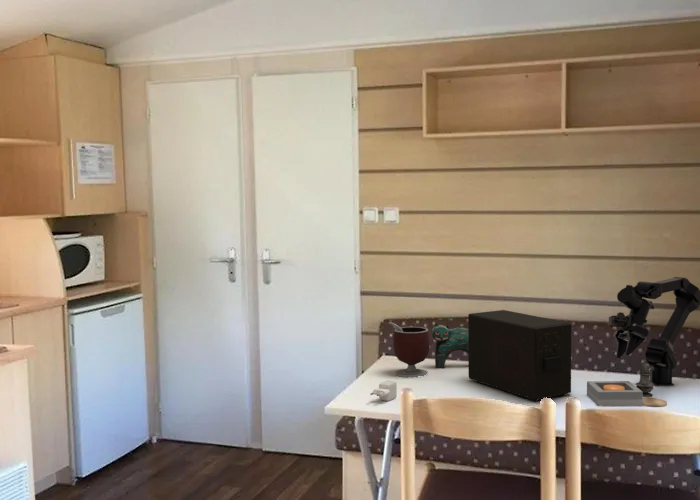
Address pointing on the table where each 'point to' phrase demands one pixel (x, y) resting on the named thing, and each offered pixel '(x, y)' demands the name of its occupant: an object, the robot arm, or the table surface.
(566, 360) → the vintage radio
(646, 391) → the salt shaker
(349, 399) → the table surface
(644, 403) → the coaster
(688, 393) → the table surface
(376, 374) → the table surface
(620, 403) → the breaker guard
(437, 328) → the ceramic cat
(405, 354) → the mate gourd
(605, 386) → the button
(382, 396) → the power adapter
